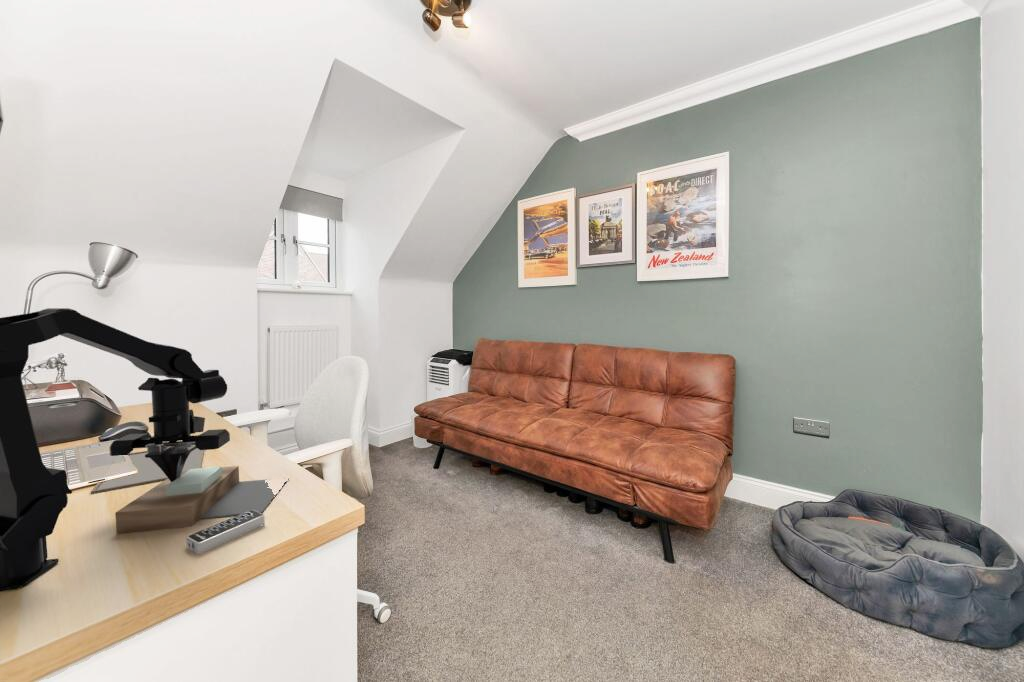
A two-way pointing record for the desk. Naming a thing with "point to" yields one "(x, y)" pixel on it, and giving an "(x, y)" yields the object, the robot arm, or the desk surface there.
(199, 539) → the multiport hub
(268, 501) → the mat
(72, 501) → the desk surface
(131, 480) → the thin grey panel
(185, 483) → the block
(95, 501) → the desk surface
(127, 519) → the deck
